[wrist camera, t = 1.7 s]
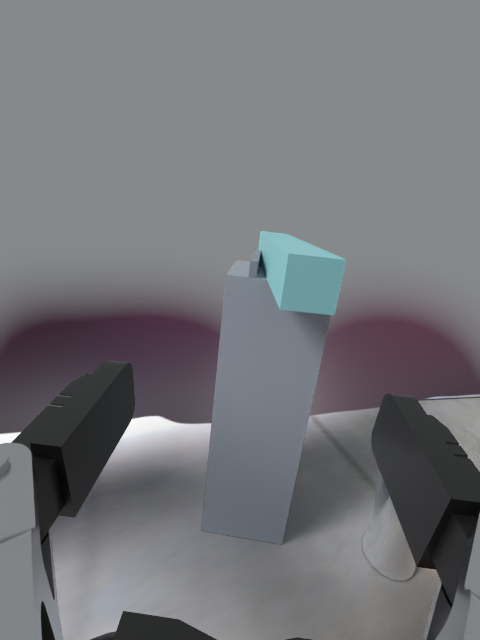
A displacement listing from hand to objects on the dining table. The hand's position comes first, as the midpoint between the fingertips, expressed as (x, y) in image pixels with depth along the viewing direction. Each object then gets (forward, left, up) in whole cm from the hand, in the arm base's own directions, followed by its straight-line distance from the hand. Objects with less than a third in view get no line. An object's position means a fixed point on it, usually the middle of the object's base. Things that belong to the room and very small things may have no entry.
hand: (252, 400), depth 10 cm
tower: (+2, +25, -32) cm, 40 cm away
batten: (+2, +23, 0) cm, 23 cm away
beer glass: (+20, +21, -32) cm, 43 cm away
